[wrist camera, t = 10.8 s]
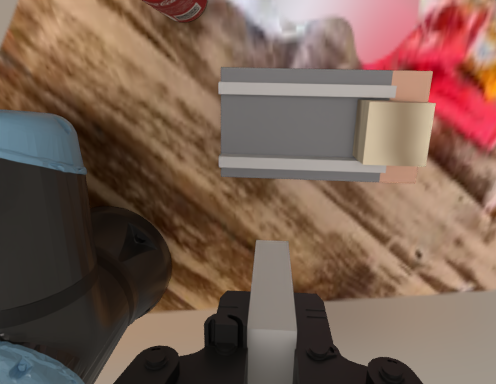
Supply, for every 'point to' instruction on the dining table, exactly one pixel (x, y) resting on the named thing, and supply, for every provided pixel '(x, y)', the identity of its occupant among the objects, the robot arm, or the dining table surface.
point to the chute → (306, 121)
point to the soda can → (179, 8)
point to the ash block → (393, 132)
